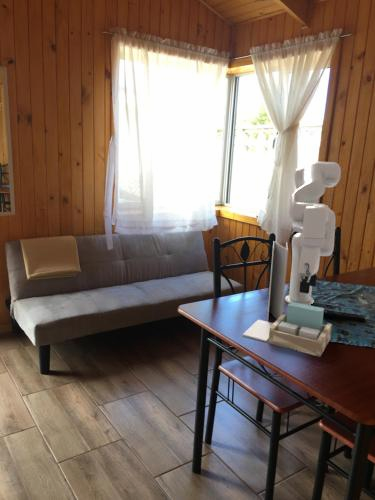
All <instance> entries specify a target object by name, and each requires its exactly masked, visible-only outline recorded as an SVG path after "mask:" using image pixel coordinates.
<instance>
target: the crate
mask: <svg viewBox="0 0 375 500" xmlns="http://www.w3.org/2000/svg"><path fill="white" fill-rule="evenodd" d="M286 319H287V313H285V312H283V313H282V315H281V316H280V317H279V318H278V319H275V321H274V322H272V323H273V324H272V326H271V327H270V329H269V339H268V341H267V342H268V344H270V345H274V346H278V347H282V348H286V349H288V348H289V350H292V349H293V351H296V350H297V352H299V353H305V354H308V355H312V356H316V357H319V358H320V357H321V356H322V354H323V352H324V351H325V349H326V347H327V345H328V344H329V342H330V340H331V334H332V326H333V323H329V322H327V324H322V331H320V334H319V338H318V340H313V339H308V338H304V337H300V336H299V330H300V329H301V328H302V327H299V326H298V333H297V336H296V335H292V334H288V333H284V332H280V331H278V325H279V324H280V323H281V322H286Z"/></svg>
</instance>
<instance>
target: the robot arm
mask: <svg viewBox="0 0 375 500" xmlns="http://www.w3.org/2000/svg"><path fill="white" fill-rule="evenodd" d="M341 175H342V170H341V166H340V164H339V163H338V162H333V161H309V162H307V163H306V164H305V165H304V166H300V167H297V168H296V169H295V172H294V186H295V188H296V190H295V191H294V192H293V193H292V195H291V196H290V199H289V206H288V207H289V208H288V217H289V220H290V222H292V223H294V224H296V225H297V227H298V228H299V229H301V231H302V232H297V233H296V234H294V235H293V236H292V239H291V250H292V255H291V256H292V257H291V259H292V260H291V269H290V270H291V271H290V281H289V282H290V283H289V293H288V295H286V296H284V300H285V302H286V303H287V304H289V303H290V302H296V303H301V304H305V305H310V306H312V305H311V304H313V303H315V300H314V298H313V297H312V288H313V287H316V286H317V280H318V279H317V278H318V271H319V267H320V260H321V257H329V256H331V255H332V254H333V252H334V248H335V235H336V233H335V232H336V213H335V212H334V210H332V209H330V207H329V206H328V205H327V204H324V203H319V199H320V197H322V196H323V195H324V194H325V192H326V188H334V187H336V186H337V184H338V183H339V181H340V180H341ZM313 305H314V304H313Z"/></svg>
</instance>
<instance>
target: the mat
mask: <svg viewBox="0 0 375 500" xmlns="http://www.w3.org/2000/svg"><path fill="white" fill-rule="evenodd" d="M273 323H274V322H271V321H268V322H267V320H262V319H257V320H256V321H255V322H254V323H253V324H252V325H251V326H250V327H248V329H247V330H246V331H244V333H242V336H243V337H246V338H250V339H254V340H257V341H262V342H265V343H266V342H268V341H269V329H270V327H271V326H272V324H273Z"/></svg>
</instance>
